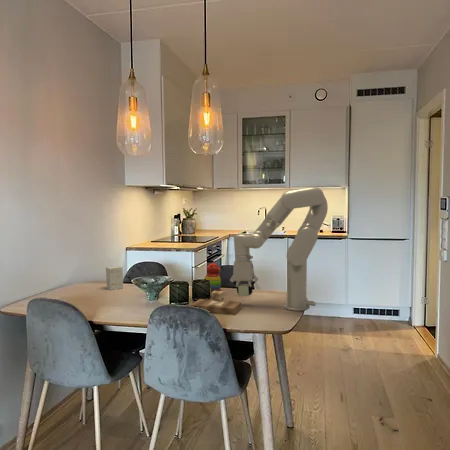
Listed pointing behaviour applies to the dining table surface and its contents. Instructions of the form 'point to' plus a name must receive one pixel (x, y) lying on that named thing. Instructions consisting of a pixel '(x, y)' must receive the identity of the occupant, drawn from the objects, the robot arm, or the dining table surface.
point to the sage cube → (243, 289)
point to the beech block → (217, 295)
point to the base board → (218, 306)
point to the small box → (114, 277)
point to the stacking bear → (213, 277)
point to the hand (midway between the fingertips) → (244, 293)
